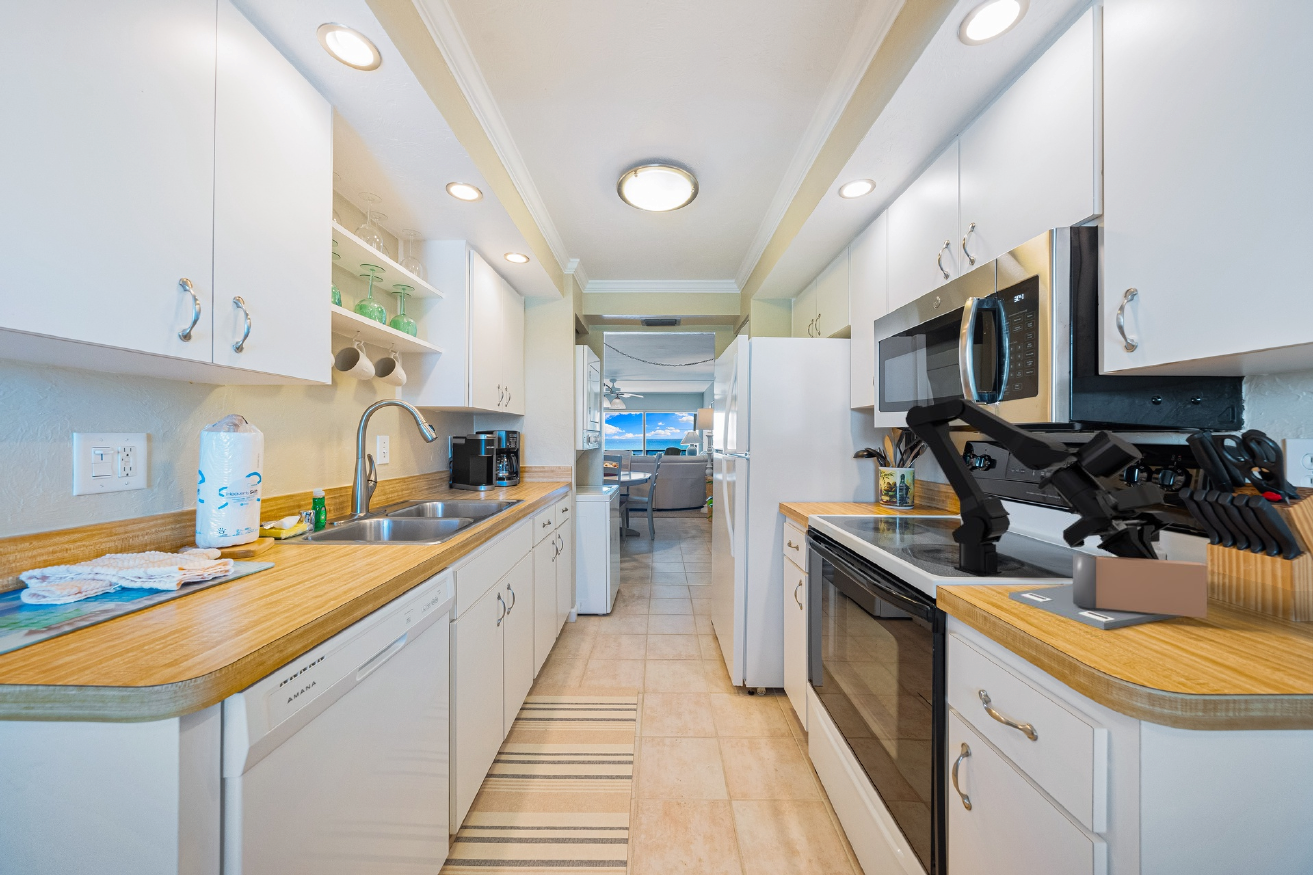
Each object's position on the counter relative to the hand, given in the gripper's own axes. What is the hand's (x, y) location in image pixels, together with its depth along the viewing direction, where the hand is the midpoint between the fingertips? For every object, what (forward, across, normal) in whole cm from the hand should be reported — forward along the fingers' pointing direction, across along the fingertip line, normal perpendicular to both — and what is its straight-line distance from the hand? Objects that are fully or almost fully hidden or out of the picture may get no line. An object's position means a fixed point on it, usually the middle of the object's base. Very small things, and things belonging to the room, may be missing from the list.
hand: (1160, 573), depth 80 cm
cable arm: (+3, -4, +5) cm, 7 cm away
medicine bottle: (-4, +19, +15) cm, 24 cm away
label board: (0, -4, +10) cm, 11 cm away
